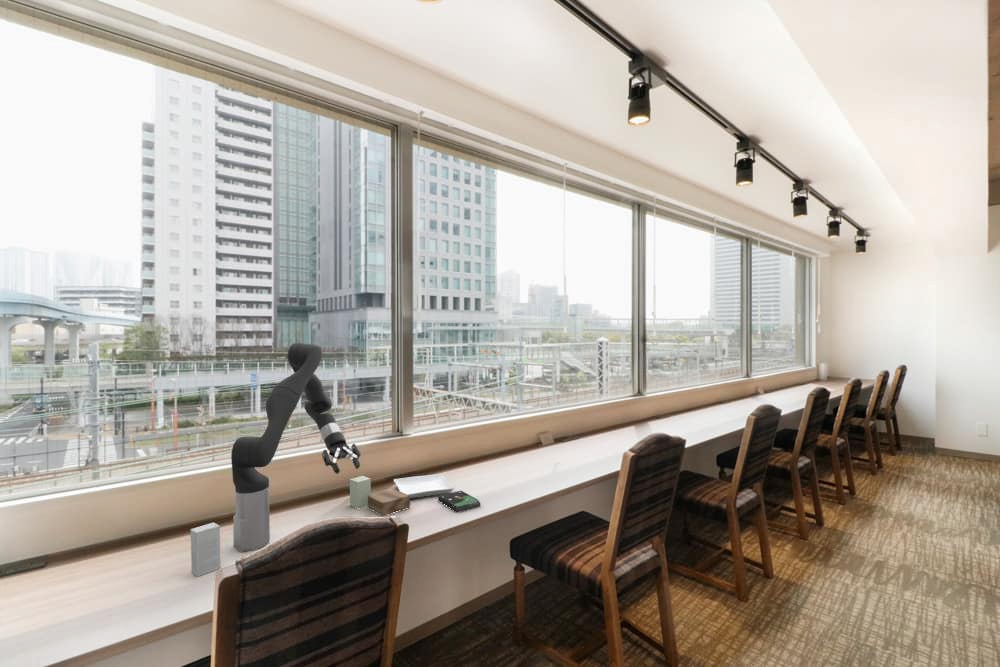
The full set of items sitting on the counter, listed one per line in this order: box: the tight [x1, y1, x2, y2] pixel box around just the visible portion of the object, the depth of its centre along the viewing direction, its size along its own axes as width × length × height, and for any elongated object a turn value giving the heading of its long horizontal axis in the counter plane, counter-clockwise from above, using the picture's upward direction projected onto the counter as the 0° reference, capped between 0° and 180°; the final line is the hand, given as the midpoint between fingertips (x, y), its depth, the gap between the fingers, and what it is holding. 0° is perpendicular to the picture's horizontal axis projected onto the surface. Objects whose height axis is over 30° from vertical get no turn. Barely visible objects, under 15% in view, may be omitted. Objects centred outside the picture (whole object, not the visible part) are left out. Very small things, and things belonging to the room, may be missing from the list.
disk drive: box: [437, 490, 481, 513], centre depth 178 cm, size 10×3×15 cm
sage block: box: [349, 475, 372, 510], centre depth 178 cm, size 6×6×10 cm
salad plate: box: [393, 473, 455, 499], centre depth 194 cm, size 21×21×3 cm
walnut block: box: [367, 488, 411, 517], centre depth 174 cm, size 11×11×5 cm
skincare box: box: [190, 522, 222, 577], centre depth 130 cm, size 6×4×12 cm
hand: (348, 470), depth 183 cm, fingers open, 8 cm apart
